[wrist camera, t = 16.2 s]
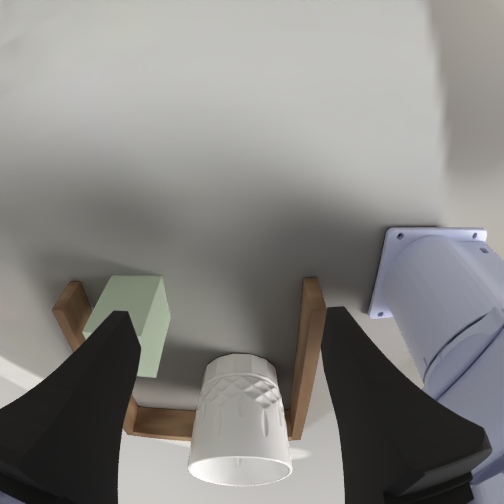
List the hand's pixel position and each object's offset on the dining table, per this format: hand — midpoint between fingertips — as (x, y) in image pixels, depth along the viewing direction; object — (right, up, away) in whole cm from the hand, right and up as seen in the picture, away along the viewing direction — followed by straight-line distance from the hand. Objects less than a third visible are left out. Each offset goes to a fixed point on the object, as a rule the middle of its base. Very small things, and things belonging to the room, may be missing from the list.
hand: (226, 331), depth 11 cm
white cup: (0, -8, +17) cm, 19 cm away
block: (-7, -1, +12) cm, 14 cm away
